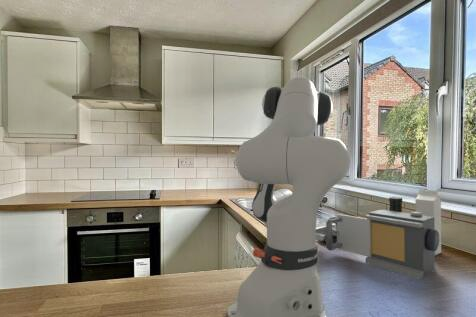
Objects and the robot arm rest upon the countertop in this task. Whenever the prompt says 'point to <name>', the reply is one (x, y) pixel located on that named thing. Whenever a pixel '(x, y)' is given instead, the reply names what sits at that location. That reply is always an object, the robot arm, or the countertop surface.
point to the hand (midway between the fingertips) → (331, 235)
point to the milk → (430, 209)
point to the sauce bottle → (395, 204)
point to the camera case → (403, 242)
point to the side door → (350, 234)
